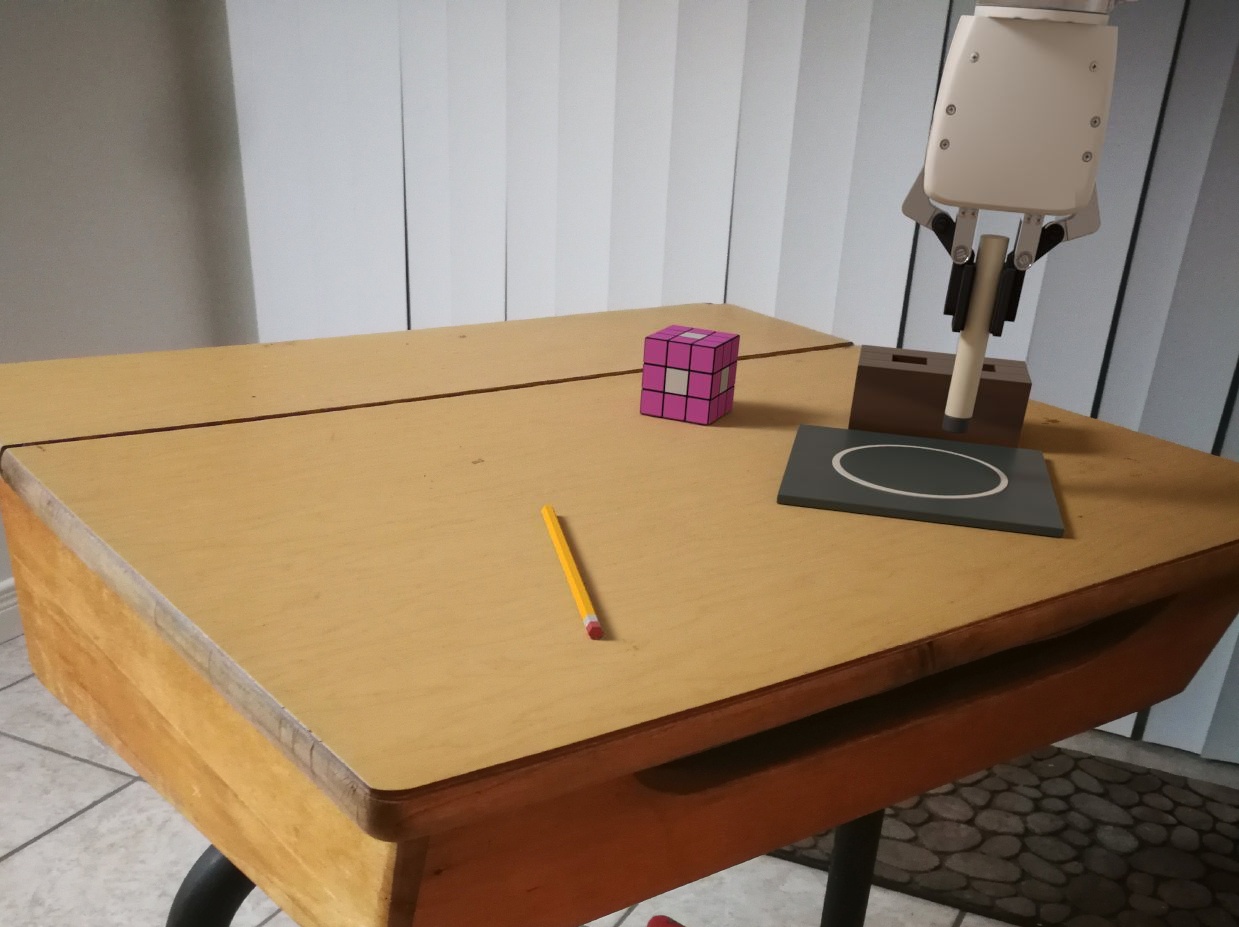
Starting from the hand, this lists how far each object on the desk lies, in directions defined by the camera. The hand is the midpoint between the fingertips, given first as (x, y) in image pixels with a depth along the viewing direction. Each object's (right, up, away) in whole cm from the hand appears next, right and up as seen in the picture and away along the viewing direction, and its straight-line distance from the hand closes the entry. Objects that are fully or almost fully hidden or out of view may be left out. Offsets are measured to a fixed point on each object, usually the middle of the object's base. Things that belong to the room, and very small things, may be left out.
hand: (976, 328), depth 83 cm
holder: (+1, -1, +17) cm, 17 cm away
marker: (0, -5, +4) cm, 7 cm away
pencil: (-26, -18, -12) cm, 34 cm away
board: (-2, -8, +6) cm, 10 cm away
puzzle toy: (-18, 0, +17) cm, 25 cm away
